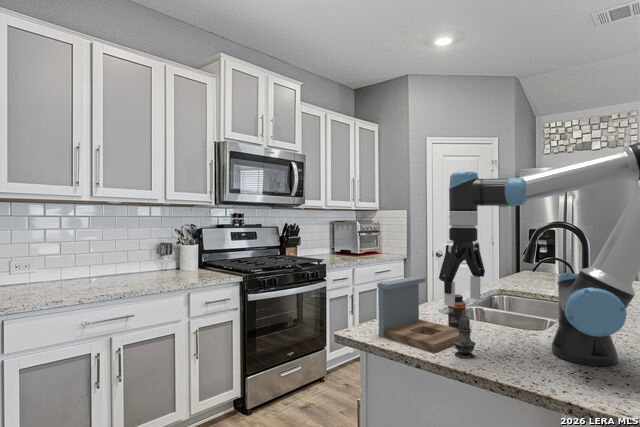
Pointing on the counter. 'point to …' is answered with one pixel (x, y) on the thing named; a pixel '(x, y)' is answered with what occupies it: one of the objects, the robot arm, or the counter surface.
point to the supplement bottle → (456, 311)
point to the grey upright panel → (398, 302)
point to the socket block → (414, 335)
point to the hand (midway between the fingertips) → (462, 302)
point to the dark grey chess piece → (464, 339)
